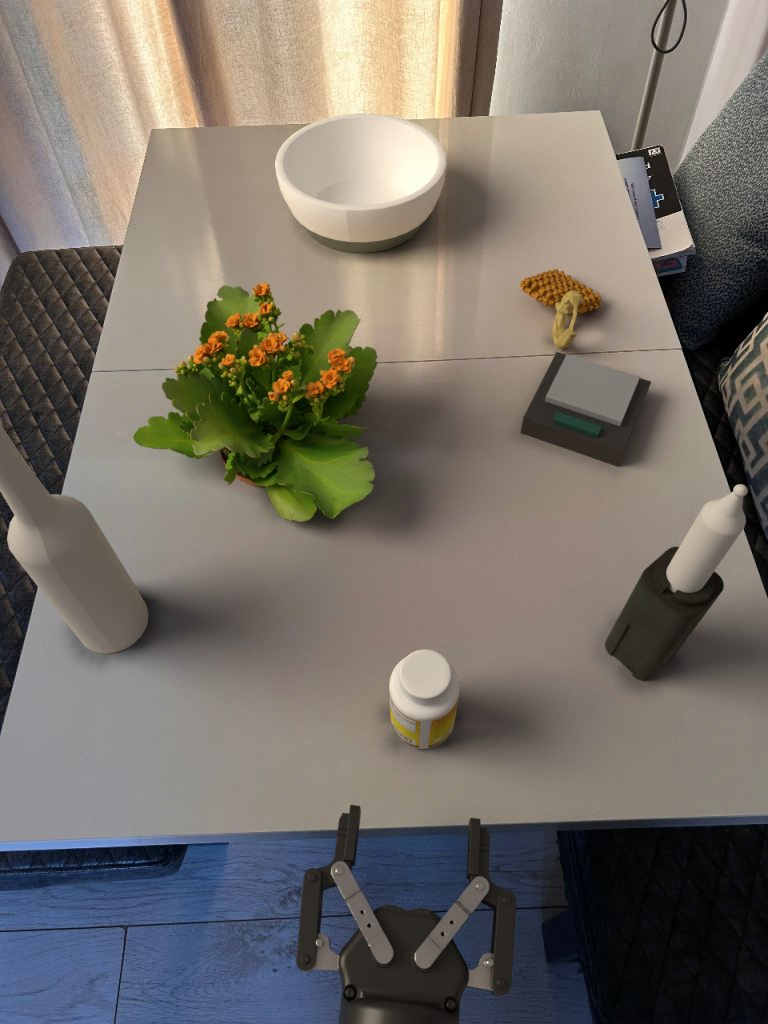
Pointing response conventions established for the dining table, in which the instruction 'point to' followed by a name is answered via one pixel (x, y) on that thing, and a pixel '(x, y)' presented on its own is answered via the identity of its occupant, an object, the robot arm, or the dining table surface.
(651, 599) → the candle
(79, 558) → the bottle
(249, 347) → the potted flower
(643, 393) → the scale
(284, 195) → the bowl
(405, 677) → the supplement bottle
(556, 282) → the ornament
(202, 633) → the dining table surface
